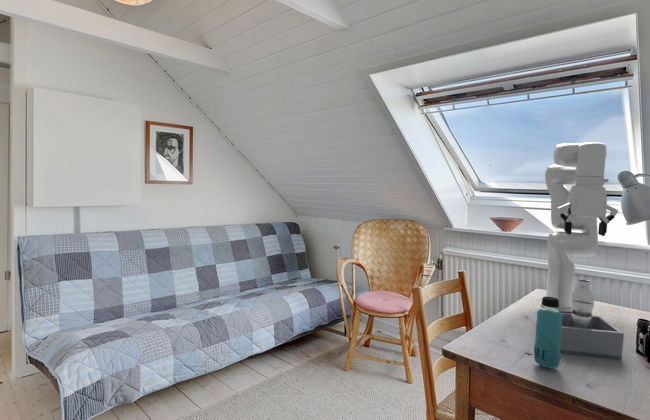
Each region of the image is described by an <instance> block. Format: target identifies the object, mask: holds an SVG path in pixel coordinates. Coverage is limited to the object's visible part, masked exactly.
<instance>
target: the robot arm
mask: <svg viewBox="0 0 650 420" xmlns="http://www.w3.org/2000/svg"><path fill="white" fill-rule="evenodd" d="M606 159H607V145H606V144H605V143H603V142H582V143H575V142H574V143H561V144H560V143H559V144H557V145H556V146H555V148H554V151H553V162H554V164H552V165H549V166H548V167H546V170H545V174H544V176H545V177H544V179H545V180H544V181H545V185H546V188H547V191H548V194H549V196H550V222H551V225H552V227H553V228H555V229H557V230H563V231H553V232H551V233H549V234H548V236H547V238H546V239H547V241H546V244H547V258H548V259H547V276H546V292H545V297H554V298H557V299H558V300H559V307H557V308H553V309H556V310H558V311H559V312H560V313H572V304H571V294H572V292H573V291H574V286H575V285H574V284H575V275H576V274H575V272H576V266H575V265H574V263H573V261H572V260H571V259H570V258H569V257H571V256H572V257H585V258H591V257H595V256H596V255H597V254H598V251H599V236H601V237H602V236H603V237H605V236H606V234H607V230H608V225H609V224H610V222H611V221H613V220H614V218H615V217H616V215H617V214H618V213H619V210H618V209H616V208H614V207H613V206H611V205H609V204H608V198H607V197H608V196H607V190H606V186H604V185H605V184H606V183H609V178H605V170H606ZM565 185H571V187H570V189H569V188H567V187H566V186H565ZM607 211H609V214H608V215H607ZM606 215H607V216H606ZM598 219H599V220H600V222H599V223H598ZM574 231H580V232H574ZM540 305H541V306H542V308H552V307H547V306H544V305H542V301H541V303H540Z"/></svg>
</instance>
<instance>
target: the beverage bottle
mask: <svg viewBox="0 0 650 420" xmlns="http://www.w3.org/2000/svg"><path fill="white" fill-rule="evenodd" d="M541 302H542V305H544V306H547V307H552V308H545V307H542V308H540V309H538V310H537V311H536V323H535V338H534V341H535V343H534V349H533V352H534V353H533V354H534V355H533V358H534V361H535V363H536V364H538V365H540V366H542V367H545V368H546V367H547V368H550V369H551V368H558V367H559V366H560V363H561V362H560V361H561V353H560V349H561V343H562V342H561V330H562V318H563V315H562V314H561V313H562V312H560V311H558V310H556V309H553V308H557V307H559V300H558V299H557V298H554V297H546V296H543V297H542V299H541ZM542 305H541V306H542Z"/></svg>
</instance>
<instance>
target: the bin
mask: <svg viewBox="0 0 650 420" xmlns="http://www.w3.org/2000/svg"><path fill="white" fill-rule="evenodd" d="M560 313H561V314H562V315H563V318H562V330H561V342H562V343H561V349H560V354H563V355H572V356H573V355H574V356H580V357H581V356H583V357H590V358H591V357H592V358H600V359H601V358H602V359H611V360H618V361H622V360H623V348H624V338H625V336H624V335H625V333H624V332H623V331H621V330H620V329H619V328H617V327H616V326H614V325H613V324H612V323H610V322H609V321H608V320H607V319H605V318H604V317H602V316H601V315H592V316H591V329H583V328H573V327H570V323H571V317H572V313H571V312H560Z"/></svg>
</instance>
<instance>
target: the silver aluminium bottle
mask: <svg viewBox="0 0 650 420" xmlns="http://www.w3.org/2000/svg"><path fill="white" fill-rule="evenodd" d="M591 285H592V281H590V280H587V279H577V280H576V287H575V289H573V292H572V294H571V304H572V312H571V314H572V317H571V323H570V327H573V328H583V329H591V316H593V310H594V307H595V306H594V305H595V302H596V298H595V295H594V293H593V292H592V290H591V288H592V286H591Z"/></svg>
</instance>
